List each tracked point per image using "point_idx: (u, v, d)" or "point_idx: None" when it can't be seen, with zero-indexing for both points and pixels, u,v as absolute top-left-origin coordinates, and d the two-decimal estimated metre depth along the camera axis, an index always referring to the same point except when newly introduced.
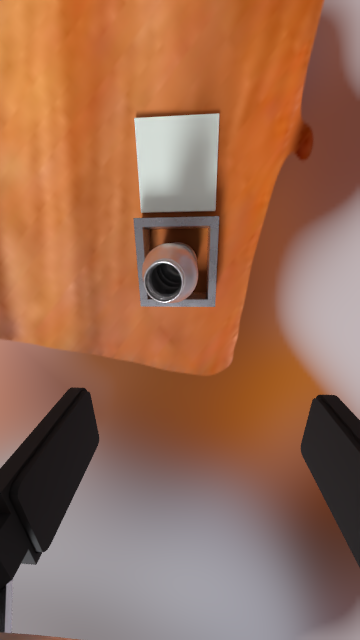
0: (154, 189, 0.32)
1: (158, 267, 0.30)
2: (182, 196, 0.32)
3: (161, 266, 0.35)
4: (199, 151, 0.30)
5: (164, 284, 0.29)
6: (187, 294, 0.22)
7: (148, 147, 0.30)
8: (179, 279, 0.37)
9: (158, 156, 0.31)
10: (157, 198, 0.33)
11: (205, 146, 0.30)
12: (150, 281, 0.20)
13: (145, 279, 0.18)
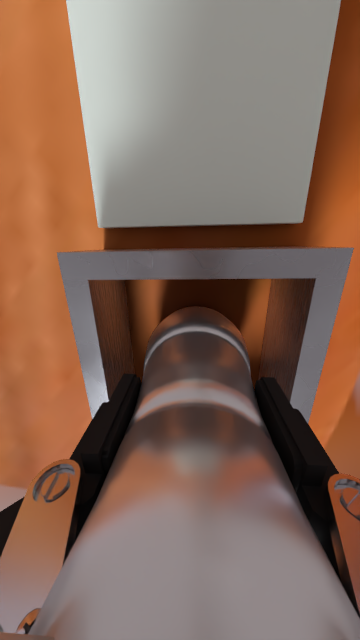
0: (131, 163, 0.11)
1: None
2: (210, 183, 0.11)
3: None
4: (273, 32, 0.09)
5: None
6: None
7: (105, 21, 0.09)
8: None
9: (140, 54, 0.10)
10: (140, 189, 0.12)
11: (296, 11, 0.09)
12: None
13: None
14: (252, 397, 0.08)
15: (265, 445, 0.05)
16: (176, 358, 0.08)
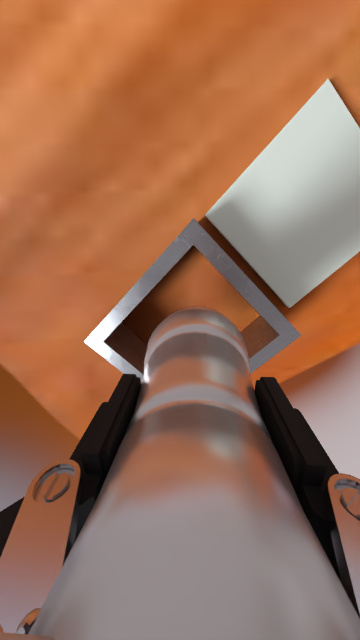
0: (251, 206, 0.17)
1: None
2: (273, 252, 0.19)
3: None
4: (346, 225, 0.18)
5: None
6: None
7: (301, 142, 0.16)
8: None
9: (300, 171, 0.17)
10: (243, 221, 0.18)
11: (358, 227, 0.18)
12: None
13: None
14: (252, 397, 0.08)
15: (265, 444, 0.05)
16: (177, 358, 0.08)
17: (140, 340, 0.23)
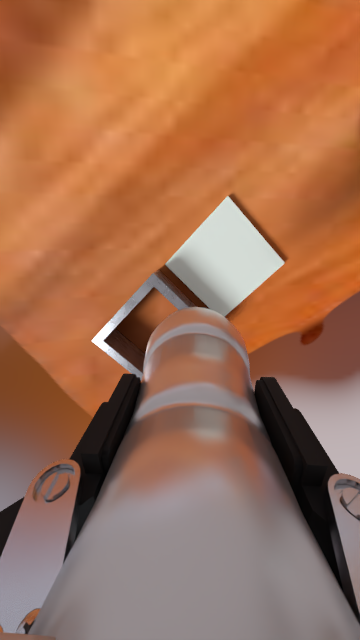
0: (192, 260, 0.29)
1: None
2: (207, 286, 0.31)
3: None
4: (248, 271, 0.30)
5: None
6: None
7: (217, 226, 0.28)
8: None
9: (218, 241, 0.28)
10: (187, 268, 0.30)
11: (256, 272, 0.30)
12: None
13: None
14: (251, 398, 0.08)
15: (264, 447, 0.05)
16: (176, 359, 0.08)
17: (127, 340, 0.34)
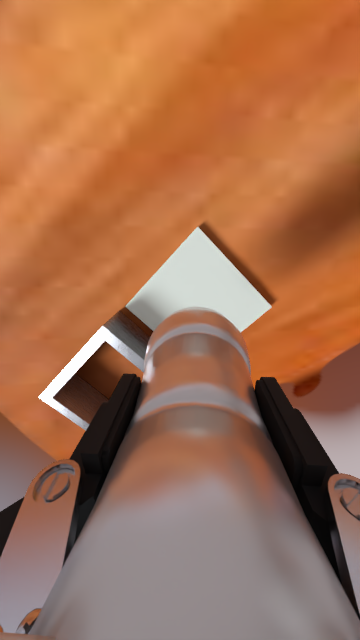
0: (157, 302, 0.24)
1: None
2: None
3: None
4: (227, 315, 0.24)
5: None
6: None
7: (186, 263, 0.22)
8: None
9: (188, 281, 0.23)
10: (153, 311, 0.24)
11: (236, 317, 0.24)
12: None
13: None
14: (252, 398, 0.08)
15: (265, 447, 0.05)
16: (177, 359, 0.08)
17: (89, 387, 0.30)
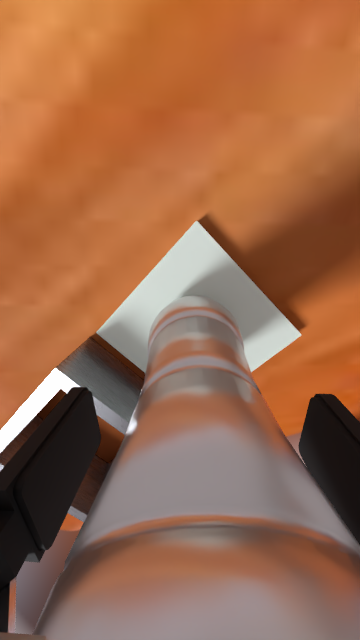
0: (140, 327, 0.17)
1: None
2: None
3: None
4: None
5: None
6: None
7: (180, 274, 0.15)
8: None
9: None
10: (134, 339, 0.18)
11: (251, 348, 0.17)
12: None
13: None
14: (247, 368, 0.09)
15: (259, 398, 0.07)
16: (181, 336, 0.09)
17: None
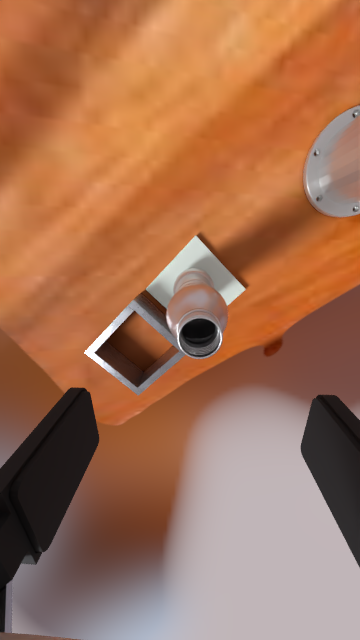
0: (168, 286, 0.35)
1: None
2: None
3: None
4: None
5: None
6: None
7: (187, 259, 0.33)
8: None
9: None
10: (164, 292, 0.35)
11: (222, 296, 0.35)
12: (181, 331, 0.18)
13: (179, 333, 0.16)
14: None
15: None
16: (189, 277, 0.27)
17: (116, 350, 0.40)
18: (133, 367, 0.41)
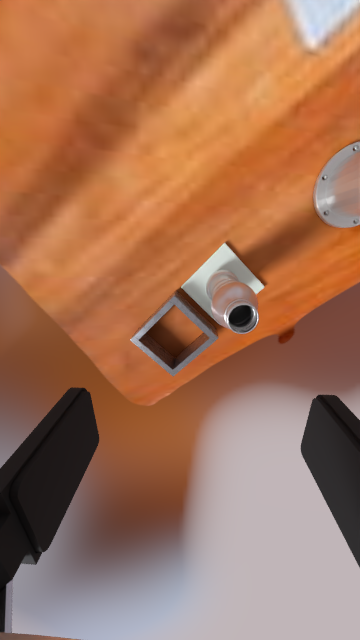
0: (199, 284, 0.42)
1: (211, 293, 0.35)
2: (210, 302, 0.43)
3: None
4: None
5: None
6: None
7: (217, 262, 0.41)
8: None
9: None
10: (196, 290, 0.43)
11: None
12: None
13: (228, 315, 0.24)
14: None
15: None
16: (222, 277, 0.35)
17: (152, 339, 0.48)
18: (167, 353, 0.48)
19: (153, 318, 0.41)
